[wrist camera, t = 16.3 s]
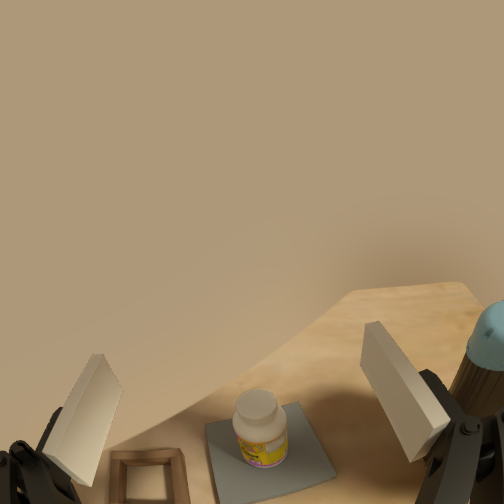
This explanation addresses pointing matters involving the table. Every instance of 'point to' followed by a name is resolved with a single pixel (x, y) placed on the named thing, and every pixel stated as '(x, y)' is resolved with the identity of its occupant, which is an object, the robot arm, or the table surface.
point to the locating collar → (146, 459)
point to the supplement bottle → (261, 428)
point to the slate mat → (273, 478)
